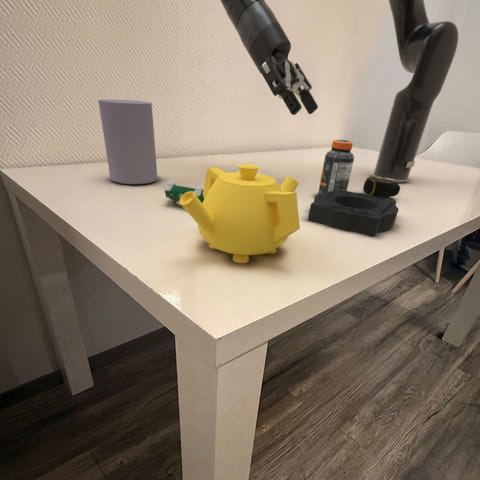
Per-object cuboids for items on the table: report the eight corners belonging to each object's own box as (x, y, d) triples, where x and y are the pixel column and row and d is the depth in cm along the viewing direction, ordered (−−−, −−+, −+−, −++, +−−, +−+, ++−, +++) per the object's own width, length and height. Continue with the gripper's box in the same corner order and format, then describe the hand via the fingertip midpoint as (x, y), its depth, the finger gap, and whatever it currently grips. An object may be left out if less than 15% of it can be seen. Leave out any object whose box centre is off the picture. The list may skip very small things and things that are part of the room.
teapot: (251, 218, 59) (257, 149, 53) (333, 254, 49) (353, 172, 42) (149, 242, 48) (141, 157, 41) (228, 295, 37) (233, 192, 31)
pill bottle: (316, 192, 76) (327, 137, 70) (342, 195, 76) (355, 139, 69) (318, 200, 72) (329, 141, 65) (346, 202, 71) (360, 143, 64)
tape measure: (398, 200, 75) (403, 183, 73) (373, 201, 74) (378, 183, 71) (379, 192, 81) (384, 175, 79) (355, 192, 79) (359, 175, 77)
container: (101, 182, 72) (87, 100, 64) (124, 172, 81) (115, 99, 72) (145, 187, 71) (137, 104, 62) (164, 177, 79) (159, 102, 71)
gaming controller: (170, 209, 66) (156, 192, 60) (176, 192, 66) (163, 173, 60) (212, 217, 64) (203, 200, 58) (218, 199, 64) (209, 181, 58)
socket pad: (327, 201, 71) (330, 187, 69) (399, 217, 65) (405, 202, 63) (299, 219, 60) (302, 202, 59) (382, 239, 54) (388, 221, 53)
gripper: (258, 13, 59) (306, 96, 61) (292, 26, 69) (333, 97, 71) (232, 51, 64) (277, 126, 66) (267, 58, 74) (305, 123, 76)
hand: (306, 111), depth 68 cm, fingers open, 8 cm apart
